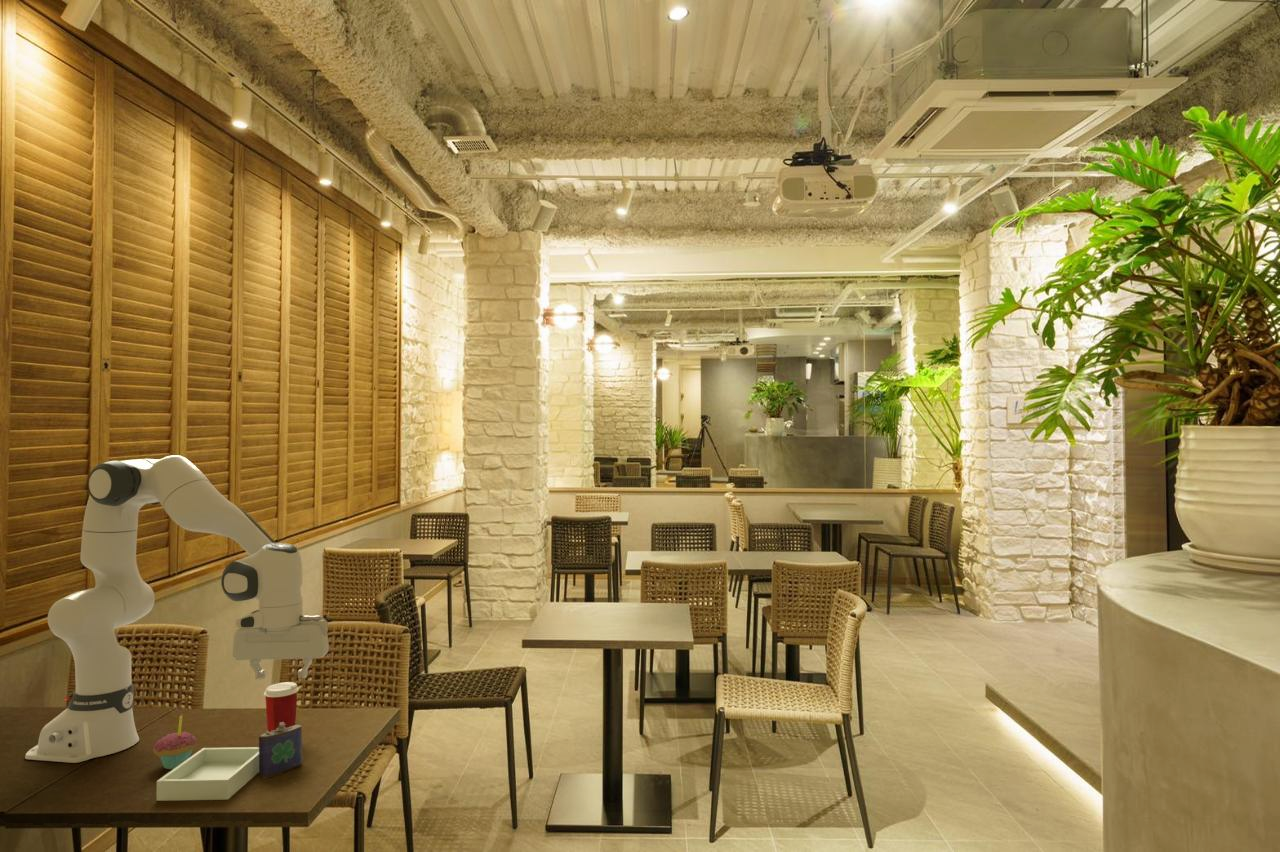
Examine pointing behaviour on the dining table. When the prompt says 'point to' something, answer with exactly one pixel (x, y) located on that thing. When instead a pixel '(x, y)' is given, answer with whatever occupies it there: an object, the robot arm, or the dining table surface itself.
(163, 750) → the cupcake
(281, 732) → the flask
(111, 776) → the dining table surface
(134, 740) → the robot arm
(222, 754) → the serving bin
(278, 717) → the paper cup
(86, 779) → the dining table surface
